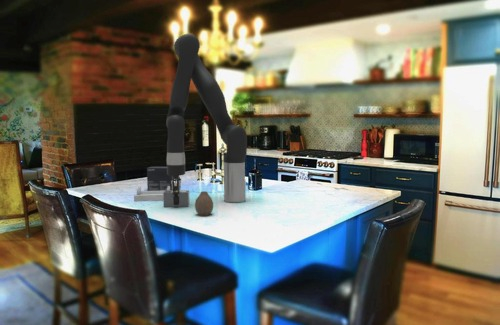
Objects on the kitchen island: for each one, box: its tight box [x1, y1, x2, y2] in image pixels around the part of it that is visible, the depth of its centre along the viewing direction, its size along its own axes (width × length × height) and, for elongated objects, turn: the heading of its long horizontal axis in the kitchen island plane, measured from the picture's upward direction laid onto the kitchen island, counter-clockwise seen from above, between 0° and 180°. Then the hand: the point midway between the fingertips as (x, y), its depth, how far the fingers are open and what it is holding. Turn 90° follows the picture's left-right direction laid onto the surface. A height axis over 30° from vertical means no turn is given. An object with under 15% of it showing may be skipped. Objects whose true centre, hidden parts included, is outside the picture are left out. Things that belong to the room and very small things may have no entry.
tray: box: [133, 186, 172, 202], centre depth 183 cm, size 16×11×5 cm
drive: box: [163, 189, 190, 208], centre depth 167 cm, size 10×6×6 cm, turn 94°
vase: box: [194, 191, 214, 217], centre depth 152 cm, size 7×7×9 cm
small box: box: [146, 166, 173, 191], centre depth 202 cm, size 13×7×12 cm, turn 84°
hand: (176, 203), depth 168 cm, fingers closed on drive, 5 cm apart
